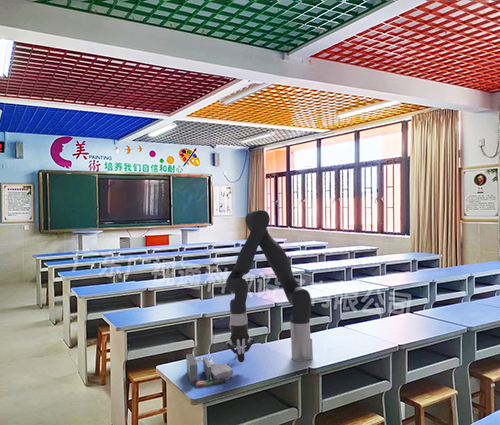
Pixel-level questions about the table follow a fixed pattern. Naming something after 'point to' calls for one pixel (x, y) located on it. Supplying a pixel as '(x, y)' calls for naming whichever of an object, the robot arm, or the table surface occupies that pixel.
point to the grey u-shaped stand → (194, 375)
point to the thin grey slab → (207, 368)
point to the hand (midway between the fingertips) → (241, 361)
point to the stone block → (220, 371)
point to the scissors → (209, 357)
